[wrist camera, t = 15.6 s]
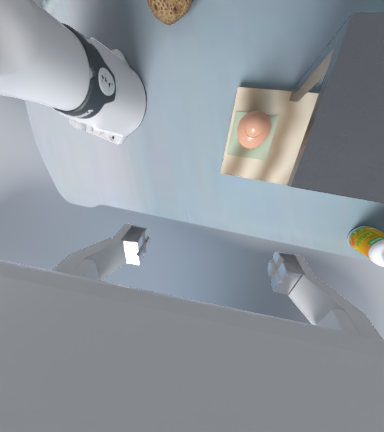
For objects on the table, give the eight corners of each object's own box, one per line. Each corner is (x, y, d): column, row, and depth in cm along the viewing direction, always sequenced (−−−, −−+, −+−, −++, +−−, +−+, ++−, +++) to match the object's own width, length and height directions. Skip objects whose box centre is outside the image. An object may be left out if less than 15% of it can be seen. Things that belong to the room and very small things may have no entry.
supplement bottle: (358, 221, 34) (401, 241, 25) (385, 232, 34) (438, 257, 25) (340, 241, 36) (375, 267, 27) (365, 252, 36) (408, 282, 27)
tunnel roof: (266, 176, 34) (290, 186, 19) (291, 91, 29) (352, 13, 14) (330, 187, 32) (415, 208, 17) (370, 97, 27) (541, 12, 12)
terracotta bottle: (234, 147, 34) (232, 140, 25) (242, 120, 32) (242, 102, 23) (259, 152, 33) (266, 147, 24) (268, 124, 31) (280, 108, 22)
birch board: (221, 172, 38) (220, 173, 36) (237, 91, 33) (238, 86, 31) (342, 194, 34) (349, 196, 32) (384, 103, 28) (396, 98, 26)
